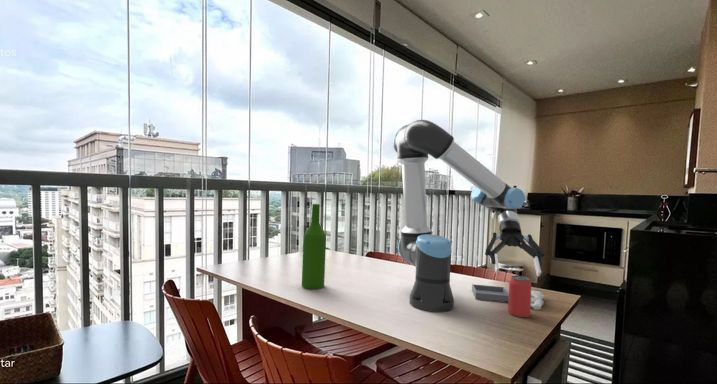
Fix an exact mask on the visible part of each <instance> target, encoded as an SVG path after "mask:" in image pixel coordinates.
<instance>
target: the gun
mask: <svg viewBox="0 0 717 384" xmlns="http://www.w3.org/2000/svg"><path fill="white" fill-rule="evenodd" d="M544 297H545V294H543V292H542V291H539V290H538V291H537V290H534V289H533V290H532V289H531V309H533V310H538V311H539V310H542V306H543V305H544V304H545V303H544V302H545V301H544V300H543V298H544Z"/></svg>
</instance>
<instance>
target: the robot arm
mask: <svg viewBox="0 0 717 384" xmlns="http://www.w3.org/2000/svg"><path fill="white" fill-rule="evenodd" d="M392 146H393V150H394V151H395V152H396V153H397V161H398V163H399V164H401V176H402V192H403V195H402V196H403V198H402V199H403V216H404V217H403V219H404V226H403V228H402V229H401V230H400V235H401V236H400V239H399V240H398V245H397V250H398V253H399V255H400V257H401V259H403V260H404V261H405V262H406V263H407V264H409V265H411V266H414V267H415V281H414V283H413V286H412V289H411V291H410V294H409V304H410V306H411V307H414V308H416V309H420V310H423V311H428V312H440V313H441V312H447V311H448V312H449V311H452V310H453V309H454V308H455V298H454V295H453V291H452V287H451V259H452V257H451V256H452V243H451V241H450V239H448V238H447V237H444V236H441V235H436V234H432V229H431V228H430V227H429V225H428V215H427V191H426V190H427V188H426V167H425V164H426V162H427V161H428V160H429V156H431V157H432V158H434V159H435V160H439V159H440V160H441V161H442V162H444V163H445V164H446V165H448V166H449V167H450V168H451V169H453V170H454V172H456V173H458V174H459V175H461V176H462V177H463V178H464V179H465V180H467V181H468V182H469V183H470V184H471V185H473V186H474V188H473V189H472V191H471V192H470V199H471V200H472V201H473V202H475V203H476V204H478V205H480V206H483V207H485V208H486V209H487V210H490V211H493V212H495V213H496V215H497V221H498V227H499V234H497V232H495V231H494V232H493V233H492V235H491V239H490V242H489V244H488V246H487V247H486V248H485V252H484V255H485V256H489V258H490V261H491V264H492V265H494V271H495V274H499V271H500V265H499V260H498V258H499V257H498V253H499V252H500V251H501V250H502V249H503V248H504V247H505V246H507V247H518V248H519V249H522V250H523V251H525V252H526V253H527V254H528V255H529V256H531V257H532V258H533V264H534V269H535V274H536V277H540V276H541V274H542V270H541V267H542V266H543V262H542V261H543V260H544V259H545V257H546V252H544V250H543V249H542V247H540V245H538V244H537V242H536V241H535V240H534V238H533V236H532V235H531V234H528V235H523V234H522V229H521V224H520V217H519V214H518V211H517V209H520V208H521V207H522V206H523V205H524V204H525V201H526V196H525V195H526V194H525V193H524V191H523V190H522V189H520V188H519V187H511V186H510V185H509V184H507V183H506V182H505V181H503V180H502V178H500V177H498V176H497V175H496V174H495V173H494V172H492V171H491V170H490V169H489V168H488V167H486V166H485V165H484V164H482V163H481V162H480V161H479V160H477V159H476V158H475V157H474V156H472V154H470V153H469V152H468V151H467V150H465V149H464V148H463V147H462V146H460V145H459V144H457V142H455V138H454V136H453V135H451V134H450V133H449V132H448V131H447V130H445V129H444V128H442V127H441V126H440V125H438V124H436V123H434V122H433V121H430V120H426V119H416V120H414V121H411V123H408V124H405V125H403V126H402V127H400V128H399V129H398V130H397V131H396V133H395V134H394V136H393V139H392ZM497 240H500V241H501V242H499V243H498V244H497V246H495V247H494V245H495V244H496V241H497ZM493 247H494V248H493Z"/></svg>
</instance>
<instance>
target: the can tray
mask: <svg viewBox="0 0 717 384" xmlns="http://www.w3.org/2000/svg"><path fill="white" fill-rule="evenodd" d="M471 292H472V295H473V296H474V298H475V300H477V301H486V302H487V301H488V302H498V303H507V304H508V303H509V291H508V290H507V289H506V288H505V287H504V286H496V285H495V286H494V285H483V284H473V283H472V284H471Z"/></svg>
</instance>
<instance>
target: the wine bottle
mask: <svg viewBox="0 0 717 384" xmlns="http://www.w3.org/2000/svg"><path fill="white" fill-rule="evenodd" d="M320 208H321V204H319V203H312V204H311V223H310V224H309V226H308V227H307V229H306V230H305V231H304V235H303V240H302V241H303V243H302V265H301V266H302V267H301V270H302V271H301V286H302V288H304V289H307V290H319V289H322V288H324V287H325V279H326V278H325V277H326V276H325V275H326V272H325V271H326V251H327V250H326V249H327V248H326V245H327V237H326V236H327V235H326V233H325V231H324V229H323V227H322V226H321V224H320V212H321V211H320V210H321V209H320Z"/></svg>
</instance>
